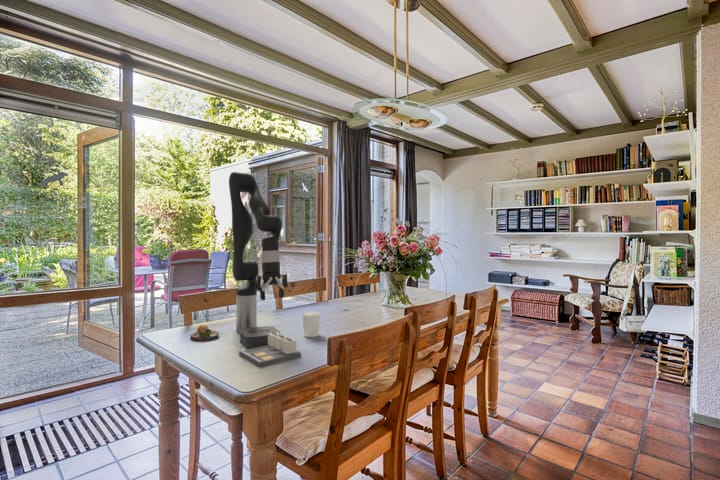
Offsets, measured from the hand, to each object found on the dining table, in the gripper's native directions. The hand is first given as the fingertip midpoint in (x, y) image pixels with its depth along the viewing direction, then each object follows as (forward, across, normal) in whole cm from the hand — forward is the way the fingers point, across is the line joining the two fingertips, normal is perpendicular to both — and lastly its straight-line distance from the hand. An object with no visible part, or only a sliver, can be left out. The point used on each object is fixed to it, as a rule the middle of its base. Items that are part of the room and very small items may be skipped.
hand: (272, 298), depth 161 cm
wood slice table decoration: (+16, +20, -25) cm, 36 cm away
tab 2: (+18, +5, +15) cm, 24 cm away
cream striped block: (+18, +5, +20) cm, 28 cm away
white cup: (+19, -18, +2) cm, 26 cm away
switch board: (+20, +10, +15) cm, 27 cm away
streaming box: (+18, +5, -3) cm, 19 cm away
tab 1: (+17, +5, +10) cm, 20 cm away
